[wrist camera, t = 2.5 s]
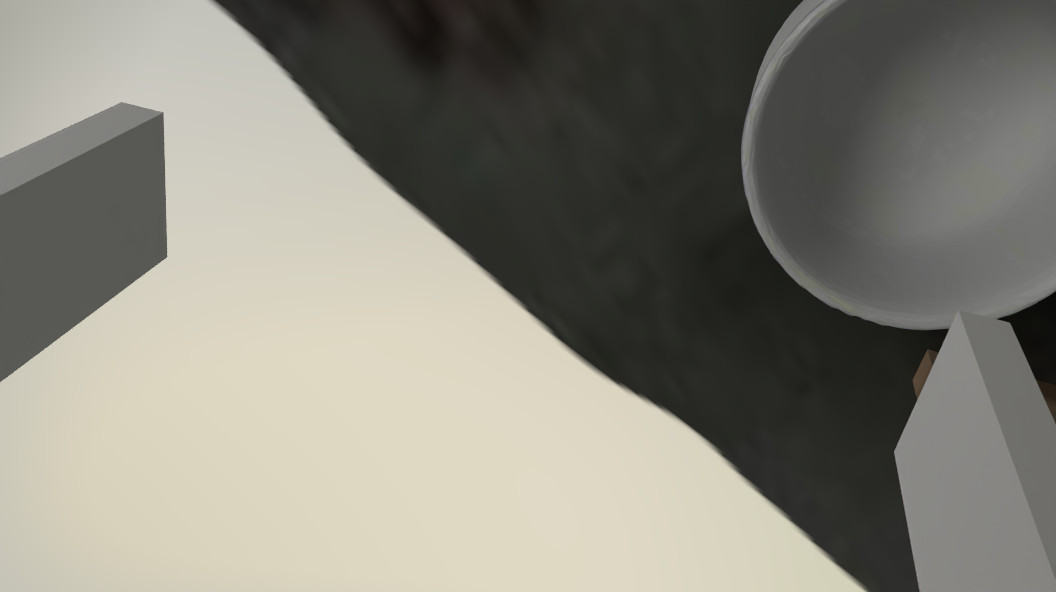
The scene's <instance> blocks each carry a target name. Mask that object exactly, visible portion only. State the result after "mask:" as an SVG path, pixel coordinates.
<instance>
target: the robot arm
mask: <svg viewBox="0 0 1056 592" xmlns="http://www.w3.org/2000/svg"><path fill="white" fill-rule="evenodd" d="M163 121H164V120H163V112H159V111H155V110H151V109H147V108H142V107H139V106H135V105H131V104H126V103H122V102H121V103H119V104H117V105H115V106H113V107H110V108H109V109H106V110H104V111H102V112H100V113H97V114H95V115H93V116H91V117H89V118H87V119H84V120H83V121H80V122H78V123H76V124H74V125H71V126H70V127H67V128H65V129H63V130H61V131H58V132H56V133H54V134H52V135H50V136H48V137H46V138H43V139H41V140H39V141H37V142H35V143H32V144H30V145H28V146H26V147H24V148H21V149H19V150H17V151H15V152H13V153H11V154H8V155H6V156H4V157H2V158H0V382H1V381H2V380H3V379H5V378H6V377H8V376H9V375H10V374H12V373H13V372H14V371H16V370H17V369H18V368H20V367H21V366H22V365H24V364H25V363H26V362H28V361H29V360H30V359H32V358H33V357H34V356H36V355H37V354H38V353H40V352H41V351H42V350H44V349H45V348H46V347H48V346H49V345H50V344H52V343H53V342H54V341H56V340H57V339H58V338H59V337H61V336H62V335H64V334H65V333H66V332H68V331H69V330H70V329H71V328H73V327H74V326H76V325H77V324H78V323H80V322H81V321H82V320H84V319H85V318H86V317H88V316H89V315H90V314H92V313H93V312H94V311H96V310H97V309H98V308H100V307H101V306H102V305H104V304H105V303H106V302H108V301H109V300H110V299H112V298H113V297H114V296H116V295H117V294H118V293H120V292H121V291H122V290H124V289H125V288H126V287H128V286H129V285H130V284H132V283H133V282H134V281H135V280H137V279H138V278H140V277H141V276H142V275H143V274H145V273H146V272H148V271H149V270H150V269H151V268H153V267H154V266H155V265H157V264H158V263H160V262H161V261H162V260H164V259H165V258H166V257H167V234H166V196H165V160H164V158H165V157H164V123H163ZM894 454H895V459H896V465H897V470H898V476H899V481H900V487H901V492H902V497H903V503H904V508H905V514H906V519H907V525H908V530H909V536H910V541H911V547H912V552H913V557H914V563H915V568H916V574H917V579H918V585H919V590H920V592H1056V424H1055V422H1054V419H1053V417H1052V415H1051V413H1050V411H1049V408H1048V406H1047V404H1046V402H1045V400H1044V397H1043V395H1042V393H1041V391H1040V388H1039V386H1038V384H1037V382H1036V380H1035V377H1034V375H1033V373H1032V371H1031V368H1030V366H1029V364H1028V362H1027V360H1026V357H1025V355H1024V353H1023V351H1022V348H1021V346H1020V344H1019V342H1018V340H1017V337H1016V335H1015V333H1014V331H1013V329H1012V326H1011V324H1010V323H1009V322H1005V321H1001V320H997V319H993V318H989V317H985V316H981V315H977V314H973V313H969V312H965V311H961V310H958V311H957V313H956V316H955V318H954V320H953V322H952V325H951V327H950V329H949V331H948V333H947V336H946V338H945V340H944V342H943V345H942V347H941V349H940V351H939V353H938V356H937V358H936V360H935V362H934V364H933V367H932V369H931V371H930V373H929V376H928V378H927V380H926V382H925V384H924V387H923V389H922V391H921V393H920V395H919V398H918V400H917V402H916V404H915V407H914V409H913V411H912V413H911V415H910V418H909V420H908V422H907V424H906V427H905V429H904V431H903V433H902V435H901V438H900V440H899V442H898V444H897V446H896V449H895V451H894Z"/></svg>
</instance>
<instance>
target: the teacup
mask: <svg viewBox="0 0 1056 592" xmlns="http://www.w3.org/2000/svg"><path fill="white" fill-rule="evenodd" d="M741 160H742V173H743V181H744V188H745V194H746V196H747V200H748V204H749V207H750V211H751V214H752V217H753V220H754V223H755V225H756V227H757V229H758V231H759V233H760V235H761V237H762V238H763V241H764V243H765V245H766V246H767V247H768V249H769V250H770V252H771V254H772V255H773V257H774V258H775V259H776V260H777V262H778V263H779V264H780V265H781V266H782V267H783V268H784V269H785V271H786V272H787V273H788V274H789V275H790V276H791V277H792V278H793V279H794V280H795V281H796V282H797V283H798V284H799V285H800V286H802V287H803V288H805V289H807V290H808V291H809V292H810V293H811V294H813V295H814V296H816V297H817V298H819V299H820V300H821V301H823V302H824V303H826V304H827V305H829V306H830V307H833V308H836V309H839V310H841V311H843V312H844V313H846V314H848V315H852V316H859V317H861V318H862V319H864V320H870V321H872V322H875V323H878V324H880V325H889V326H892V327H898V328H905V329H915V330H936V329H948V328H950V327H951V325H952V322H953V320H954V318H955V316H956V313H957V311H958V310H961V311H965V312H969V313H973V314H977V315H981V316H985V317H989V318H993V319H998V318H1002V317H1005V316H1009V315H1012V314H1015V313H1017V312H1019V311H1021V310H1023V309H1025V308H1027V307H1030V306H1032V305H1034V304H1035V303H1037V302H1039V301H1041V300H1042V299H1044V298H1046V297H1047V296H1049V295H1051V294H1052V293H1054V292H1055V291H1056V0H803V1H802V3H801V4H800V5H799V6H798V7H797V8H796V9H795V10H794V11H793V12H792V13H791V15H790V16H789V17H788V19H787V20H786V21H785V23H784V24H783V26H782V27H781V29H780V30H779V32H778V33H777V34H776V36H775V38H774V40H773V41H772V43H771V45H770V47H769V49H768V50H767V53H766V55H765V57H764V60H763V62H762V65H761V67H760V69H759V72H758V75H757V79H756V82H755V86H754V89H753V93H752V97H751V102H750V105H749V108H748V111H747V115H746V120H745V124H744V130H743V136H742V149H741Z"/></svg>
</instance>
